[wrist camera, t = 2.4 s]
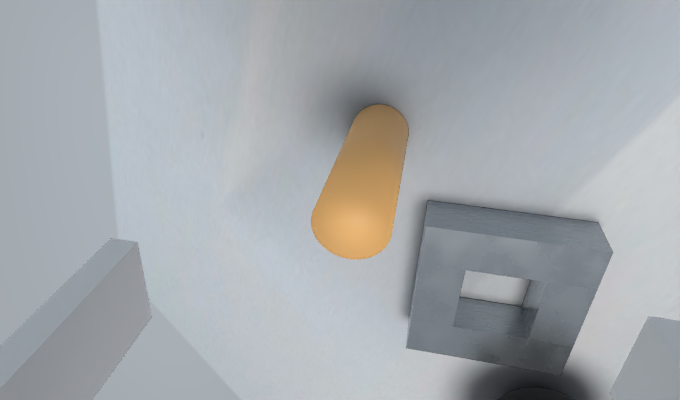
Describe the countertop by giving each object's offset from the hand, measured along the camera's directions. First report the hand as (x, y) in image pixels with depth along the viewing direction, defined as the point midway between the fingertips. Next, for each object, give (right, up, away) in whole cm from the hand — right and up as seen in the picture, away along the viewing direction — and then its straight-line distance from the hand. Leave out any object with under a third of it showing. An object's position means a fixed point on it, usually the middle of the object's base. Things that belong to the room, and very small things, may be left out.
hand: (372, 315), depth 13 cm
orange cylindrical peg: (+2, +8, +21) cm, 22 cm away
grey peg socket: (+11, -3, +25) cm, 27 cm away
